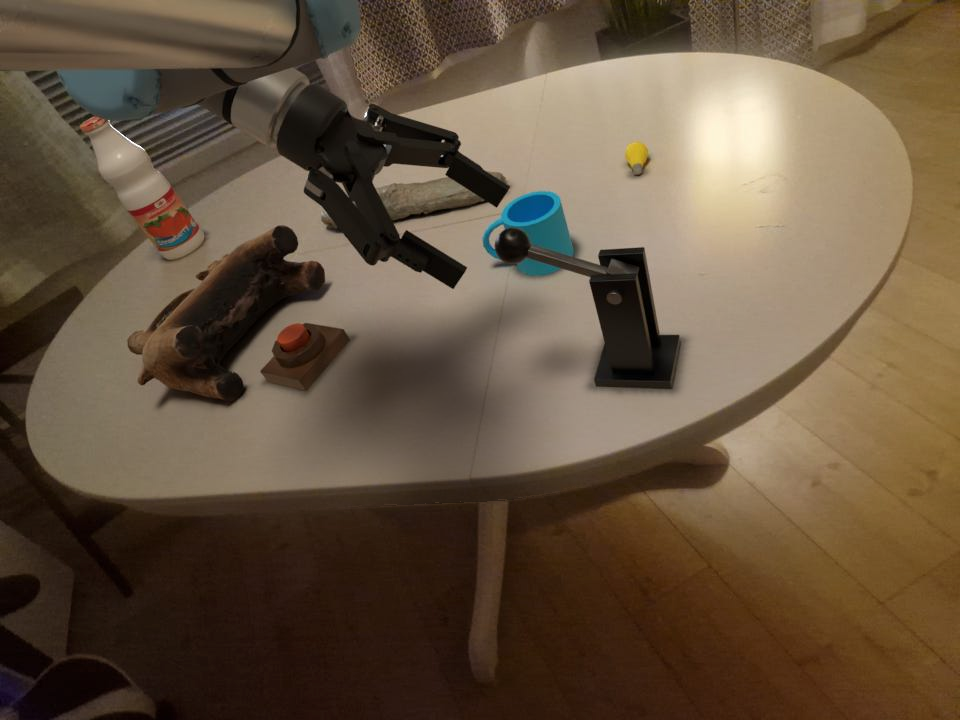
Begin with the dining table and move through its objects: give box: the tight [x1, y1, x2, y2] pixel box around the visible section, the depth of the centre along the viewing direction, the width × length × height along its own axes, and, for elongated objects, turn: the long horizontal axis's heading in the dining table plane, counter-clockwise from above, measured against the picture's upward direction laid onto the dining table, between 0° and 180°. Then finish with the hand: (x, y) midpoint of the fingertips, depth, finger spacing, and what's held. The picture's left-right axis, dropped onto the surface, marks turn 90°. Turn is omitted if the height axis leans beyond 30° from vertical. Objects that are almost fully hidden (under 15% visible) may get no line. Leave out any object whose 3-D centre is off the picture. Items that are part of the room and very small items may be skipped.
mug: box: [481, 190, 575, 277], centre depth 89 cm, size 12×8×8 cm
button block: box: [260, 322, 351, 392], centre depth 89 cm, size 10×8×4 cm
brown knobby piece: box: [126, 224, 326, 402], centre depth 99 cm, size 13×31×25 cm
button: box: [276, 322, 310, 353], centre depth 88 cm, size 4×4×2 cm
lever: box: [494, 228, 639, 278], centre depth 64 cm, size 14×4×4 cm, turn 70°
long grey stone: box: [320, 170, 508, 230], centre depth 113 cm, size 35×5×10 cm
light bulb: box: [624, 141, 649, 176], centre depth 99 cm, size 3×6×4 cm, turn 170°
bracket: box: [588, 246, 681, 390], centre depth 66 cm, size 8×7×14 cm
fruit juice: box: [79, 115, 206, 261], centre depth 125 cm, size 9×9×28 cm
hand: (483, 235), depth 65 cm, fingers open, 13 cm apart
